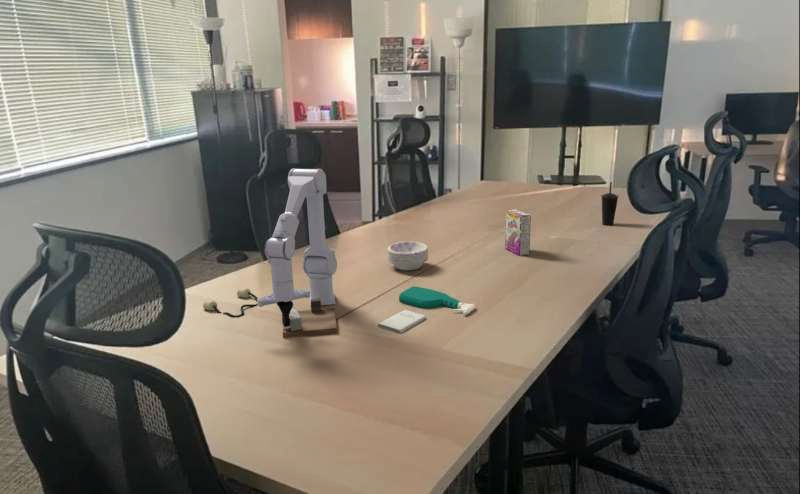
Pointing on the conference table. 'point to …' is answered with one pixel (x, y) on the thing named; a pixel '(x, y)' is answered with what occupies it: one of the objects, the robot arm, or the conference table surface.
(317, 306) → the stool seat
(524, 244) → the candy bar box
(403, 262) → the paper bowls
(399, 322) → the external hard drive
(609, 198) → the drinking cup
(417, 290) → the spray bottle
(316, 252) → the robot arm
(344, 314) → the conference table surface
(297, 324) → the folding leg
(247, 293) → the cable
